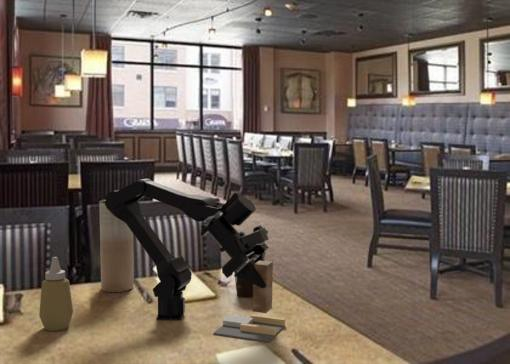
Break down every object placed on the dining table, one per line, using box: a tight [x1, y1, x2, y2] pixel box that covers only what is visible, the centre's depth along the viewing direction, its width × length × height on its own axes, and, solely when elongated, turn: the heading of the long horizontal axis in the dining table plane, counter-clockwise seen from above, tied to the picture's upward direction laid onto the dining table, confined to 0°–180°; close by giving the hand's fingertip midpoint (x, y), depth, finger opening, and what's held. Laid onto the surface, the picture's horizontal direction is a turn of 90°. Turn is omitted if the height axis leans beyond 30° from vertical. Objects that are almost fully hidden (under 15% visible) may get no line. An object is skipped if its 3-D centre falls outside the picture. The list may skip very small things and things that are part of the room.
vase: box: [98, 199, 134, 293], centre depth 174 cm, size 10×10×28 cm
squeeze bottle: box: [38, 256, 74, 332], centre depth 139 cm, size 8×8×18 cm
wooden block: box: [252, 260, 274, 314], centre depth 139 cm, size 4×4×12 cm
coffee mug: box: [233, 270, 253, 299], centre depth 170 cm, size 12×9×10 cm
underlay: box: [212, 313, 286, 343], centre depth 139 cm, size 14×12×2 cm
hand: (268, 284), depth 139 cm, fingers closed on wooden block, 4 cm apart
